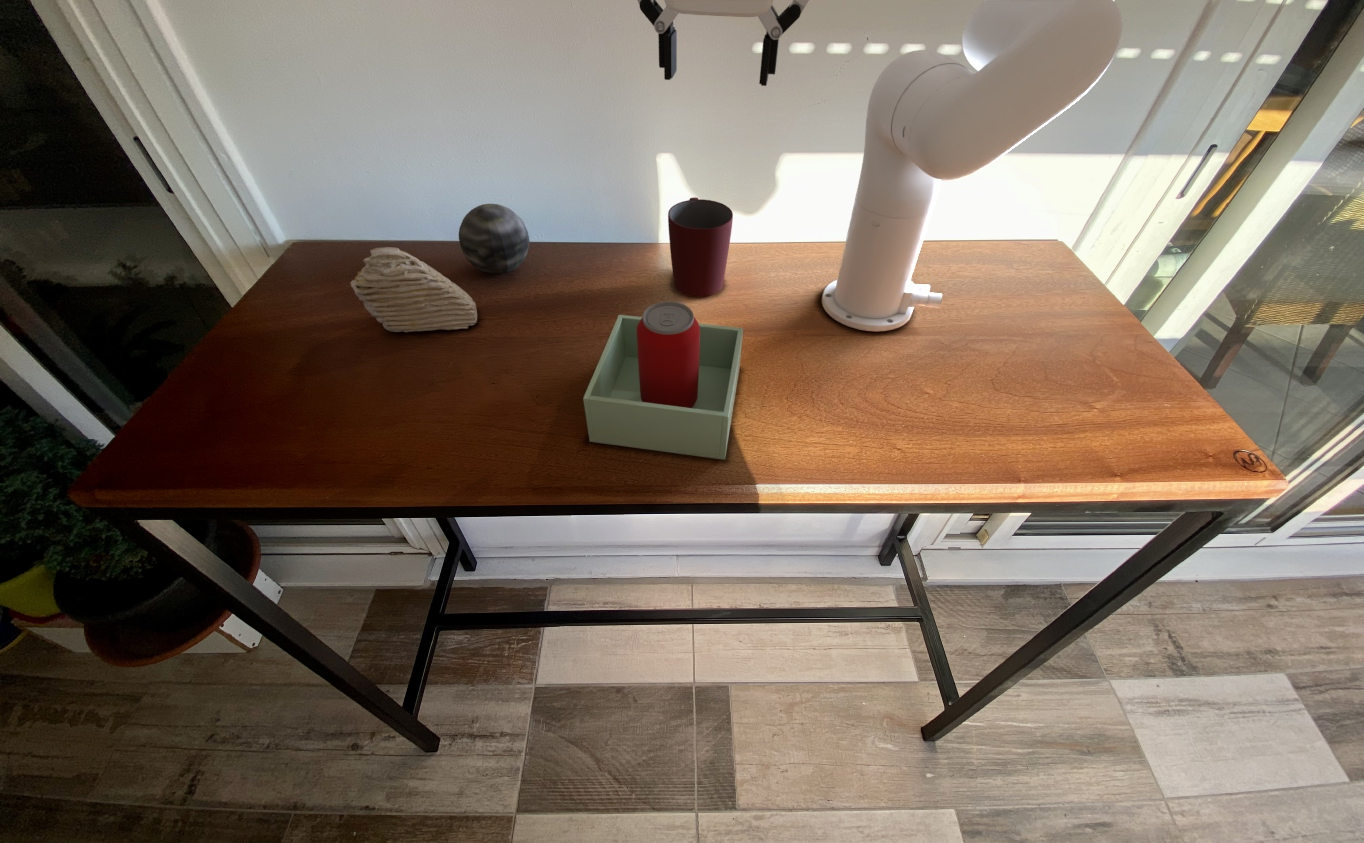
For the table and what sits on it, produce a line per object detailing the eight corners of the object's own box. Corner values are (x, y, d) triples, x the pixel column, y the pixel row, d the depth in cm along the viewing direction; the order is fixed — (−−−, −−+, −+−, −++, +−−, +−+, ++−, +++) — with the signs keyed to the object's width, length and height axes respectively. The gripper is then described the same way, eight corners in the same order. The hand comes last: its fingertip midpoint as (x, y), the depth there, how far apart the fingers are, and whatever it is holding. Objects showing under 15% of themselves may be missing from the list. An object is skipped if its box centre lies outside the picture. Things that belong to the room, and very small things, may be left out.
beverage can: (699, 383, 72) (703, 299, 64) (695, 422, 68) (698, 337, 59) (644, 379, 73) (640, 295, 64) (636, 418, 68) (630, 333, 60)
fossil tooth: (476, 340, 81) (359, 337, 79) (482, 311, 85) (371, 308, 83) (462, 267, 73) (330, 262, 71) (470, 240, 77) (345, 234, 75)
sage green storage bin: (739, 370, 75) (743, 328, 70) (724, 459, 65) (728, 416, 60) (622, 356, 77) (618, 314, 72) (589, 441, 66) (582, 398, 62)
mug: (663, 259, 94) (662, 191, 86) (719, 256, 95) (722, 188, 87) (672, 302, 86) (671, 231, 78) (732, 298, 87) (738, 227, 79)
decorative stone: (524, 289, 88) (511, 225, 81) (458, 285, 88) (439, 221, 81) (541, 254, 95) (530, 193, 88) (480, 251, 96) (464, 190, 88)
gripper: (612, -154, 47) (625, 85, 59) (834, -151, 45) (800, 96, 57) (634, -156, 52) (642, 64, 64) (833, -153, 50) (803, 73, 62)
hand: (716, 79), depth 61 cm, fingers open, 9 cm apart
